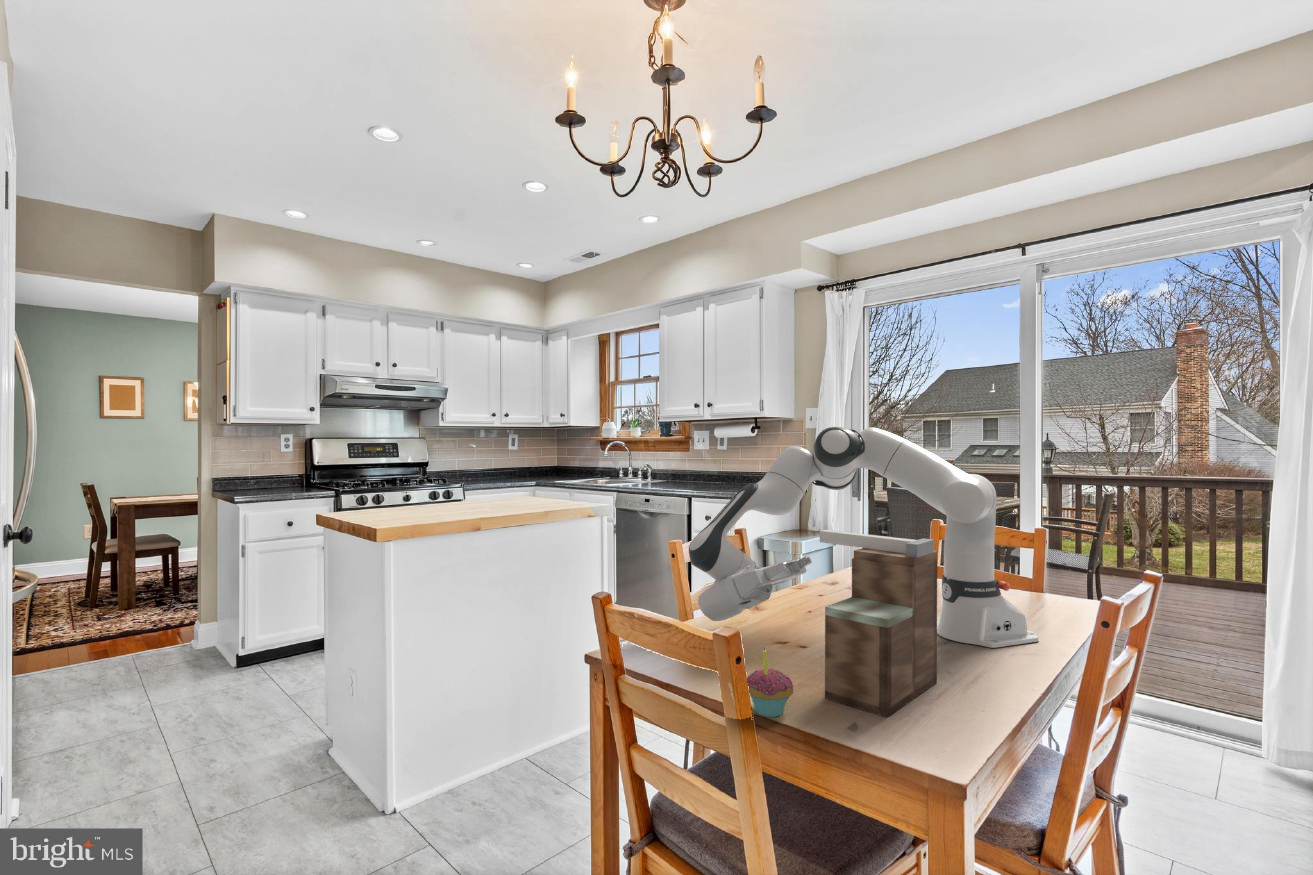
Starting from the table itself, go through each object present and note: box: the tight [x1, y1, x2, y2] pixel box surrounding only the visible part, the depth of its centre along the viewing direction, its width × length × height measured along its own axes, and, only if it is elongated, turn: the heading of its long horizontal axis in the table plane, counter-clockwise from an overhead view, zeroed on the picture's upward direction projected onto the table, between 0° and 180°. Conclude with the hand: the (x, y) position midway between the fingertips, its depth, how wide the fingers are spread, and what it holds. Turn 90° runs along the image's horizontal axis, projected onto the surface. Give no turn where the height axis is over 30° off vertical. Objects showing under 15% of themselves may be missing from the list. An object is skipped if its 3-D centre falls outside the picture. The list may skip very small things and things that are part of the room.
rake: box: [819, 529, 935, 558], centre depth 133 cm, size 22×8×2 cm, turn 46°
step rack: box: [824, 548, 938, 719], centre depth 126 cm, size 12×22×26 cm, turn 136°
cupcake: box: [746, 646, 794, 718], centre depth 117 cm, size 9×8×12 cm
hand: (797, 562), depth 145 cm, fingers open, 8 cm apart
